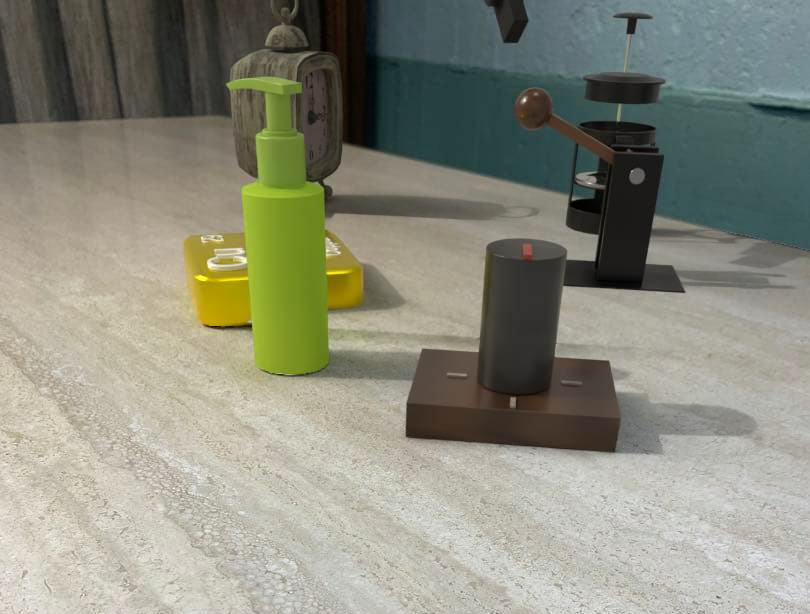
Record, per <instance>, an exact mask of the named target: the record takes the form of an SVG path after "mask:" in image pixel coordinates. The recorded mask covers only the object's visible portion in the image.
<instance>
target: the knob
mask: <svg viewBox="0 0 810 614" xmlns="http://www.w3.org/2000/svg"><path fill="white" fill-rule="evenodd" d="M484 257H485V258H484V270H483V284H482V285H483V286H482V299H481V300H482V301H481V313H480V327H479V342H478V352H479V354H478V368H477V380H478V382H479V383H480V384H481V385H483V386H484V387H486V388H488V389H490V390H493V391H497V392H501V393H506V394H532V393H537V392H541V391H543V390H545V389H547V388H548V387H549V386H550V385H551V381H552V373H553V365H554V357H556V348H557V339H558V332H559V331H558V330H559V323H560V315H561V307H562V299H563V290H564V286H563V283H564V275H565V267H566V259H567V257H568V250H567V248H566V247H564V246H563V245H561V244H559V243H557V242H553V241H548V240H544V239H538V238H537V239H536V238H523V237H521V238H520V237H516V238H504V239H503V238H502V239H498V240H494V241H491V242H489V243H488V244H487V245H486V248H485V256H484ZM567 260H568V259H567Z"/></svg>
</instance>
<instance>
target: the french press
mask: <svg viewBox="0 0 810 614" xmlns="http://www.w3.org/2000/svg"><path fill="white" fill-rule="evenodd" d="M612 18H613V19H614V18H615V19H625V20H626V19H627V23H626V33H625V34H626V35H628V36H627V44H626V52H625V59H624V65H623V71H606V72H605V71H604V72H600V73H594V74H593V73H591V74H585V75H583V76H582V81H585V82H586V84H585V91H584V99H586V100H588V101H591V102H597V103H604V104H605V103H606V104H617V105H618V106H617V115H616V120H587V121H580V122H578V123H577V125H576V128H578V129H580V130H581V131H583V132H585V133H586V134H588V135H589V136H591V137H593V138H594V139H596V140H598V141H599V142H601V143H603V144H604V145H606V146H607V147H609V148H611V144H618V145H641V146H656V142H657V136H658V130H659V129H658V127H657V126H655V125H651V124H647V123H642V122H635V121H634V122H633V121H624V120H623V121H622V120H621V115H622V114H621V113H622V107H623V105H651V104H656V103H658V102H659V98H660V94H661V93H660V92H661V86H662V85H665V84H666V83H667V79H665V78H663V77H658V76H657V77H656V76H652V75H649V74H646V73H639V72H630V71H629V72H628V68H629V67H628V66H629V61H630V51H631V45H632V38H633V35H636V31H637V30H636V29H637V25H638V20H653V19H654V17H653V16H652V15H650V14H647V13H643V12H620V13H616V14H614V15H612ZM573 149H574V151H573V158H572V167H571V175H570V184H569V192H568V198H567V199H568V200H567V209H566V217H565V226H566V227H567V228H568V229H571V230H573V231H575V232H579V233H583V234H588V235H595V236H598V235H599V228H600V221H601V213H602V206H603V199H604V192H605V185H606V178H607V171H608V164H609V162H607V161H605V160H604V159H602V158H600V157H599V156H598V164H597V171H586V172H585V171H584V172H580V173H576V169H577V161H578V154H579V153H578V152H579V144H577V143H576V142H574V148H573ZM574 185H577V186H578V187H582V188H586V189H590V190H594V194H593V197H583V198H576V199H573V193H574Z"/></svg>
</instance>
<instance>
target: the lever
mask: <svg viewBox="0 0 810 614" xmlns="http://www.w3.org/2000/svg"><path fill="white" fill-rule="evenodd" d="M554 110H555V109H554V100H553V99H552V96H551V95H550V93H549V92H548V91H547V90H545V89H544V88H541V87H535V86H534V87H529V88H526V89H525V90H523V91H522V92H521V93H520V94H519V95H518V97H517V98H516V100H515V103H514V108H513V112H514V113H513V114H514V119H515V121H516V123H517V124H518V125H519V126H520V127H521V128H522V129H524V130H526V131H529V132H536V131H539V130H541V129H544V128H545V127H546V126H547V127H549V128H551V129H552V130H554V131H556V132H558V134H561V135H563V136H564V137H566V138H568V139H569V140H571V141H573V142H574V143H575V142H576V143H577V144H579V145H580V146H581V147H582V148H584V149H586V150H587V151H589V152H591V153H592V154H593V155H596V156H598V158H599V157H600V158H602V159H604V160H605V161H607V162H609V163H610V164H612V165H613V159H614V152H615V151H614V150H612V149H611V148H609V147H607V146H606V145H604V144H603V143H601V142H599V141H598V140H596V139H594V138H593V137H591V136H589V135H588V134H586V133H585V132H583V131H581V130H580V129H578V128H577V126H574V125H573V124H572V123H570V122H568V121H566V120H565V119H564V118H561V117H560V116H558V115H557V114H555V113H554ZM579 145H578V146H579ZM626 152H633V151H631V150H629V149H627V151H626Z"/></svg>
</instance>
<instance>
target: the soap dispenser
mask: <svg viewBox="0 0 810 614" xmlns="http://www.w3.org/2000/svg"><path fill="white" fill-rule="evenodd" d="M225 85H226V87H227V88H228V90H229V91H230V90H238V89H247V88H249V89H256V90H261V91H265V100H266V116H267V128H264V129H262V132H260V133H258V134H256V152H257V166H258V178H257V180H258V181H254V182H251V183H247V184H246V185H243V186H242V187H241V190H240V192H241V204H242V216H243V226H244V227H243V228H244V233H245V242H246V255H247V267H248V280H249V292H250V305H251V323H252V325H251V329H252V340H253V341H252V342H253V353H254V364H255V363H256V364H255V366H256V365H257V366H258V367H260V368H262V369H263V370H265V371H268V372H273V373H283V374H304V375H307V374H306V373H309V374H312V373H311V372H313V373H315V371H316V372H319V371H321V370H323V369H325V368H326V367H328V365H329V363H330V344H329V340H330V339H329V312H328V310H329V309H328V306H327V273H326V239H325V229H326V213H325V212H326V211H325V210H326V209H325V208H326V207H325V206H326V205H325V197H324V188H323V187H322V186H321V185H320V184H319V183H316V182H314V183H312V182H308V181H306V164H305V139H304V135H303V134H302V133H299V132H297V129H295V128H292V121H291V100H290V94H296V93H302V84H301V83H299V82H295V81H291V80H287V79H282V78H277V77H256V78H247V79H239V80H235V81H231V82H230V81H228V82H226V83H225ZM327 364H328V365H327ZM257 366H256V367H257ZM325 366H326V367H325ZM258 367H257V368H258ZM322 368H323V369H322ZM263 370H262V371H263ZM318 370H319V371H318ZM265 371H264V372H265ZM268 372H267V373H268Z"/></svg>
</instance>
